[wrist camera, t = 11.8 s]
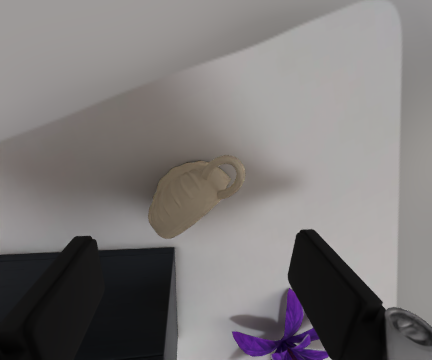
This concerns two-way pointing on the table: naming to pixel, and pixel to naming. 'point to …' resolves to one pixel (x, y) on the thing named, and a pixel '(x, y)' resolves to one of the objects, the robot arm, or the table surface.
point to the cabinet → (113, 302)
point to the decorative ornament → (191, 194)
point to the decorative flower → (284, 338)
